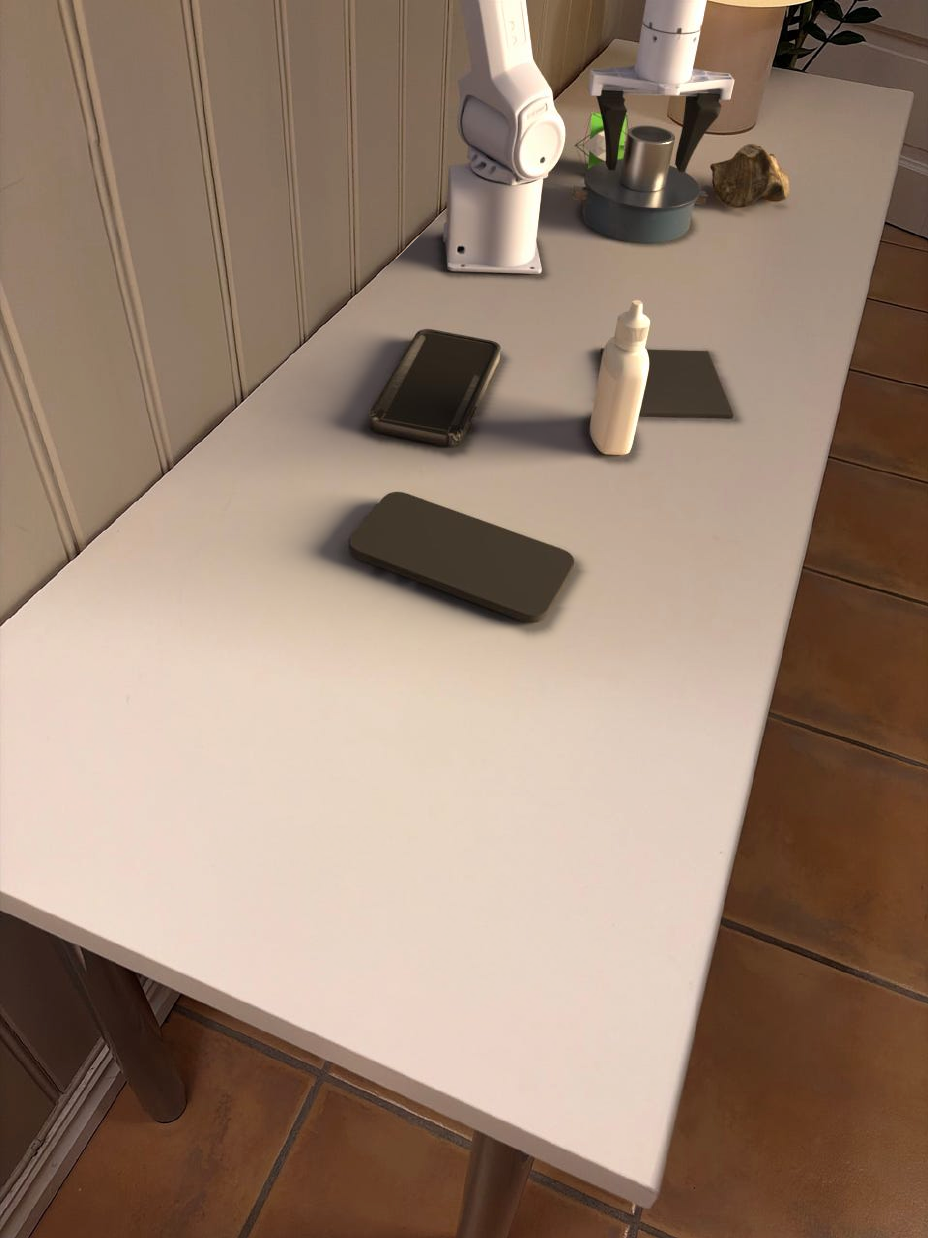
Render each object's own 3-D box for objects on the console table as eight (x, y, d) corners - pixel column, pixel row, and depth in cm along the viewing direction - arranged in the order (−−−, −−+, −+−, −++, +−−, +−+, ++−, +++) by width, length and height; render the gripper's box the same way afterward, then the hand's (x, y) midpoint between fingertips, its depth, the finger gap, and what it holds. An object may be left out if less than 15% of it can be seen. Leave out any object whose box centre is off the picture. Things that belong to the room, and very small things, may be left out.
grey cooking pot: (577, 242, 105) (583, 204, 102) (564, 191, 113) (568, 156, 110) (711, 246, 106) (721, 210, 103) (688, 196, 114) (696, 161, 111)
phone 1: (365, 418, 78) (419, 326, 88) (365, 430, 79) (419, 337, 89) (460, 438, 77) (504, 342, 87) (459, 449, 78) (503, 353, 88)
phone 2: (540, 621, 65) (341, 546, 68) (538, 630, 65) (341, 554, 69) (579, 554, 69) (391, 486, 73) (577, 562, 70) (391, 495, 74)
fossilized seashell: (777, 160, 117) (695, 175, 116) (795, 122, 110) (708, 138, 110) (793, 216, 115) (710, 232, 115) (812, 181, 109) (724, 197, 109)
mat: (616, 415, 83) (617, 411, 82) (600, 351, 90) (600, 347, 89) (732, 418, 84) (733, 414, 83) (707, 354, 90) (708, 350, 90)
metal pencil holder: (623, 191, 105) (631, 142, 101) (616, 171, 108) (624, 123, 104) (669, 192, 105) (679, 144, 101) (660, 173, 108) (670, 125, 105)
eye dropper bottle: (573, 446, 79) (596, 310, 71) (598, 411, 83) (622, 278, 74) (623, 463, 78) (653, 327, 70) (646, 427, 82) (677, 294, 73)
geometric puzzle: (569, 136, 119) (584, 94, 111) (624, 137, 120) (642, 95, 112) (572, 192, 118) (587, 153, 110) (628, 192, 119) (647, 154, 111)
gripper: (606, 35, 92) (585, 181, 102) (755, 40, 94) (720, 184, 103) (593, 12, 97) (574, 153, 107) (735, 17, 98) (703, 157, 108)
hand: (645, 167), depth 105 cm, fingers open, 7 cm apart
